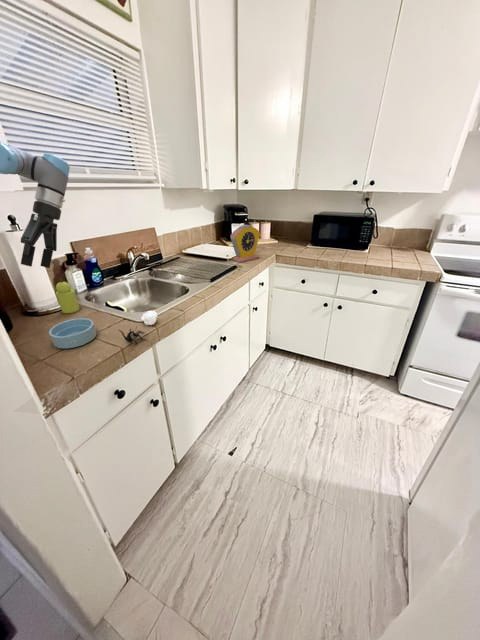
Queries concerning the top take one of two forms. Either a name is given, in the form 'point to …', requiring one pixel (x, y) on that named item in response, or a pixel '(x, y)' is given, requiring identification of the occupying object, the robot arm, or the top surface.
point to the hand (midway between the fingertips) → (36, 266)
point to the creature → (131, 335)
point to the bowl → (72, 333)
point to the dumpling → (149, 317)
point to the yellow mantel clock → (245, 243)
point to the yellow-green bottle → (66, 297)
